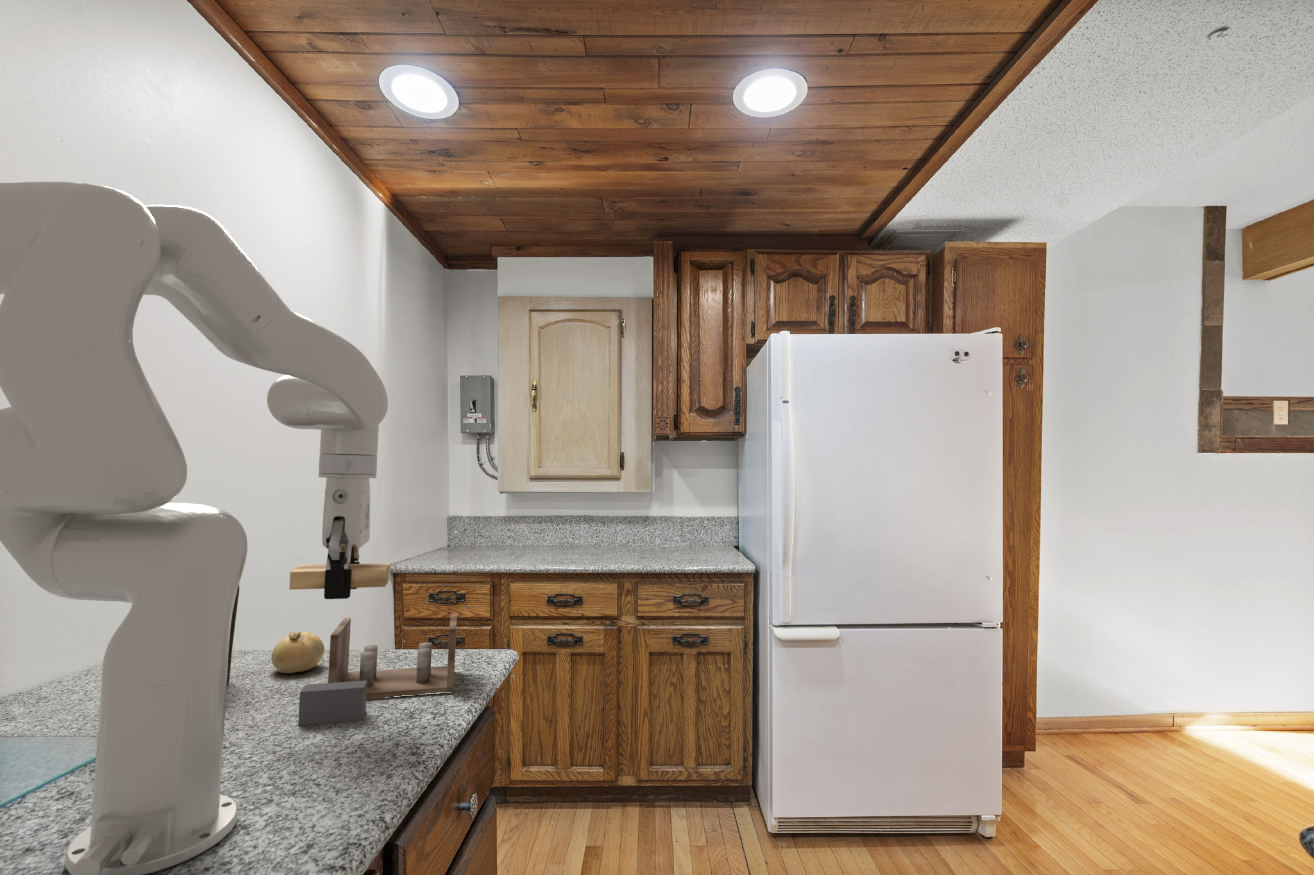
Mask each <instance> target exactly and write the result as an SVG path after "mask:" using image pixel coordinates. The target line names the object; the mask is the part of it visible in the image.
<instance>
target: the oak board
mask: <svg viewBox="0 0 1314 875" xmlns="http://www.w3.org/2000/svg"><path fill="white" fill-rule="evenodd" d="M391 564H392V563H391V562H388V563H381V562H380V563H360V564H350V566H349V569H352V573H351V588H357V589H359V588H360V589H361V588H386V586H387V585H388V584H389V582H390V580H391V567H392V565H391ZM325 570H326V564H321V563H320V564H301V565H299V566H297V567H296V568H294V569H292V570H291V571H290V572H289V590H291V591H292V590H294V591H295V590H321V589H322V590H323V589H324V587H325Z"/></svg>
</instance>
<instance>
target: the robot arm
mask: <svg viewBox="0 0 1314 875" xmlns="http://www.w3.org/2000/svg"><path fill="white" fill-rule="evenodd" d="M0 295H3V297H2V300H1V302H0V389H1V391H2V393H3V394H4V396H5V398H6V400H7V401H8V403H9V405H10V406H9V407H4V408H0V543H1V544H2V546H4V548H5V549H6V550H7V552H8V553H9V554H10V556H12V558H13V559H14V561H15V562H16V563H17V564H18V566H20V568H21V569H22V570H23V571H24V573H25V574H26V575H27V576H28V577H29V578H30V579H31V580H32V581H33V582H34V583H35V584H36V585H37V586H38V587H40V588H41V589H42V590H44V591H46V592H48V593H49V594H52V595H54V596H57V597H60V598H62V599H63V598H64V599H69V600H79V601H80V600H81V601H96V602H97V601H99V602H100V601H101V602H121V603H127V604H129V603H130V604H131V606H130V609H129V611H128V613H127V615H126V616H125V618H123V620H122V622H121V623H120V625H119V626H118V627H117V629H116V630H115V632H114V633H113V635H112V637H111V638H110V640H109V642H108V644H107V646H106V649H105V651H104V655H103V661H102V668H101V679H100V680H101V685H100V697H99V700H100V701H99V710H98V711H99V712H98V727H97V741H96V756H95V768H94V770H95V771H94V782H93V793H92V794H93V796H92V797H93V798H92V808H91V810H92V811H91V822H90V823H91V825H90V826H88V827H87V828H85V829H84V830H82V832H80V833H79V834H78V835H77V836H76V837H75V838H74V839H73V840H72V841H71V842H70V843H69V845H68V846H67V848H66V853H65V861H64V862H65V869H66V870H67V872H68V873H69V874H70V875H147V874H152V873H155V872H158V871H162V870H165V869H168V868H171V867H173V866H176V865H178V864H181V863H183V862H186V861H188V860H190V859H192V858H194V857H197V856H199V855H200V854H203V853H205V852H206V851H207V850H208V849H210V848H212V847H214V846H215V845H216V844H218V843H219V842H220V841H221V840H223V839H225V837H226V836H227V835H228V834H229V833H230V832H231V831H233V829H234V827H235V825H236V824H237V820H238V811H239V810H238V809H239V808H238V804H237V803H236V801H235V800H234V799H233V798H231V797H230V796H226V795H225V794H221V783H222V770H223V769H222V766H223V749H224V733H225V720H226V718H225V717H226V702H227V701H226V700H227V688H228V686H227V671H228V653H229V639H230V628H231V620H232V613H233V607H234V602H235V597H236V594H237V590H238V586H239V587H240V581H241V579H242V575H243V572H244V568H245V564H246V560H247V555H248V554H247V553H248V537H247V533H246V530H245V529H244V526H243V525H242V524H241V522H240V520H238V519H237V518H236V517H234V515H232V514H231V513H229V512H227V511H226V510H223V509H220V508H218V507H215V506H211V505H205V504H199V503H191V502H190V503H189V502H171V501H173V500H174V499H175V498H176V497H177V496H179V495H180V493H181V492H182V490H183V489H184V487H185V485H186V482H187V478H188V465H187V461H186V458H185V457H186V456H185V454H184V452H183V449H182V446H181V445H180V442H179V440H178V437H177V435H176V433H175V432H174V429H173V428H172V426H171V424H170V422H169V420H168V418H167V416H166V414H165V413H164V411H163V408H162V407H161V405H160V403H159V401H158V399H157V397H156V395H155V393H154V391H153V388H152V387H151V385H150V383H149V382H148V380H147V378H146V375H145V373H144V371H143V369H142V366H141V363H140V361H139V359H138V357H137V354H136V350H135V346H134V336H133V335H134V333H133V332H134V325H135V324H134V323H135V319H136V316H137V313H138V312H137V311H138V309H139V306H140V303H141V301H142V298H143V296H158V297H161V298H163V299H164V300H167V301H168V302H169V303H170V304H171V305H172V306H173V307H174V309H176V310H177V311H179V313H180V314H181V315H182V316H184V318H186V320H188V321H189V322H190V323H191V324H192V325H193V326H194V327H195V328H196V329H197V330H198V331H199V332H200V333H201V334H202V335H203V336H204V337H205V338H206V339H207V341H209V342H210V343H211V344H212V345H213V346H214V348H216V350H218V351H219V352H220V353H221V354H223V355H224V356H226V357H227V358H230V359H231V360H233V361H236V362H239V363H242V364H245V365H247V366H250V367H254V368H257V369H261V370H263V371H267V372H272V373H274V374H279V375H280V374H281V375H283V376H281V377H279V378H277V379H276V380H275V381H274V382H273V383H272V384H271V385H270V387H269V389H268V392H267V394H266V395H267V397H266V404H267V407H268V410H269V412H270V413H271V415H272V417H273V418H274V419H275V420H276V421H277V422H279V423H280V424H281V425H284V426H286V427H289V428H291V429H297V430H320V441H319V442H320V443H319V444H320V445H319V459H318V478H324V479H325V478H326V480H325V490H324V498H323V499H324V501H323V510H322V511H323V513H322V530H321V531H322V534H321V535H322V537H321V540H322V541H321V542H322V546H323V547H324V548H326V549H327V556H326V570H325V587H324V590H323V591H324V592H323V598H324V599H325V600H342V599H343V600H346V599H349V598H350V597H351V590H357V589H358V588H351V573H352V569H349V566H350V564H361V563H360V561H359V560H360V548H362V547H363V546H364V545H366V544H367V543H368V542H369V541H370V538H371V536H370V534H371V532H370V531H371V526H370V525H371V484H370V479H376V478H377V468H378V452H379V451H378V448H379V446H378V445H379V428H380V427H379V426H380V424H381V423H382V422H383V421H384V419H385V417H386V415H387V412H388V408H389V407H388V406H389V399H388V393H387V391H386V386H385V385H384V383H383V381H382V379H381V377H380V376H379V374H378V372H377V371H376V369H375V368H374V367H373V366H372V364H371V362H370V361H369V360H368V359H367V357H366V355H364V353H362V351H361V350H359V349H358V348H357V346H355V345H354V344H352V343H351V342H350V341H348V340H346V339H345V338H344V337H342V336H340V335H338V334H336V333H335V332H333V331H331V330H329V329H327V328H326V327H324V326H323V325H321V324H319V323H317V322H315V321H314V320H311V319H310V318H308V317H306V316H304V315H301V314H299V313H297V312H295V311H293V310H292V309H291V308H289V307H288V306H287V305H286V304H285V303H284V301H283V299H281V297H280V296H279V294H278V293H277V292H276V291H275V289H274V288H273V287H272V286H271V285H270V283H269V282H268V280H266V278H265V277H264V276H263V275H262V274H261V272H260V271H259V270H258V268H257V267H256V266H255V265H254V263H253V262H252V261H251V259H250V258H249V257H248V256H247V254H246V253H245V252H244V250H242V248H241V247H240V245H239V244H238V243H237V242H236V241H235V239H234V238H233V237H232V236H231V234H230V233H229V232H228V230H227V229H225V227H224V226H223V225H222V224H221V223H220V222H219V221H217V220H216V219H215V218H214V217H212V216H211V215H209V214H208V213H207V212H204V211H202V210H198V209H196V208H192V207H189V206H188V207H187V206H182V205H171V204H170V205H168V204H167V205H166V204H155V205H154V204H143V203H142V202H141V201H140V200H138V199H137V198H136V197H134V196H133V195H130V194H129V193H127V192H125V191H123V190H119V189H117V188H113V187H109V186H105V185H100V184H93V183H85V182H71V181H24V182H0Z"/></svg>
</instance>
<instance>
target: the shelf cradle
mask: <svg viewBox="0 0 1314 875" xmlns="http://www.w3.org/2000/svg"><path fill="white" fill-rule="evenodd" d="M457 617H458V613H450V619H449V620H450V621H449V630H448V647H447V648H448V651H447V665H445V666H443V665H440V666H432V654H433V653H432V651H433V650H432V648H433V643H432V642H429V641H427V642H420V643H419V644H418V649H417V652H416V654H417V657H416V667H412V668H399V669H398V668H395V669H394V668H393V669H382V670H381V669H380V670H377V669H378V649H379V648H378V647H379V645H376V644H374V645H373V644H371V645H370V644H369V645H365V646H364V647H363V652H361V653H360V661H359V663H360V664H359V671H351V672H349V665H350V664H349V663H350V662H349V660H350V642H351V622H352V620H351V617H344V618H343V619H342V620H341V621H340V623H339V624H338V625H337V627H336V628H335V629H334V630H333V632H332V633H330V639H329V641H330V642H329V657H328V658H329V659H328V661H329V662H328V681H327V683H337V682H351V681H366V680H367V693H366V701H369V700H370V699H372V700H382V699H381V698H385V697H394V696H402V695H419V694H425V693H437V692H452V691H453V692H454V687H455V686H454V684H455V672H454V671H455V668H456V667H455V666H456V641H457V640H456V639H457V622H458V620H457ZM385 699H386V698H385ZM370 701H371V700H370Z"/></svg>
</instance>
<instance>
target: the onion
mask: <svg viewBox="0 0 1314 875" xmlns="http://www.w3.org/2000/svg"><path fill="white" fill-rule="evenodd" d="M324 654H325V645H324V642H323V641H322V639H321V638H320V637H319V635H316V634H314V633H312V632H310V631H302V632H299V631H289V634H288V635H286V636H284V637H283V638H281V639H280V640H279V641H278V642H277V643H276V645H275V646H274V648H273V650H272V651H271V664H272V666H273V668H275V669H276V671H277V672H279V673H281V674H294V673H302V672H306V671H310V670H312V669H314V668H316V667H318V663H319V662H320V661H321V660H322V658H323V656H324Z"/></svg>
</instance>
